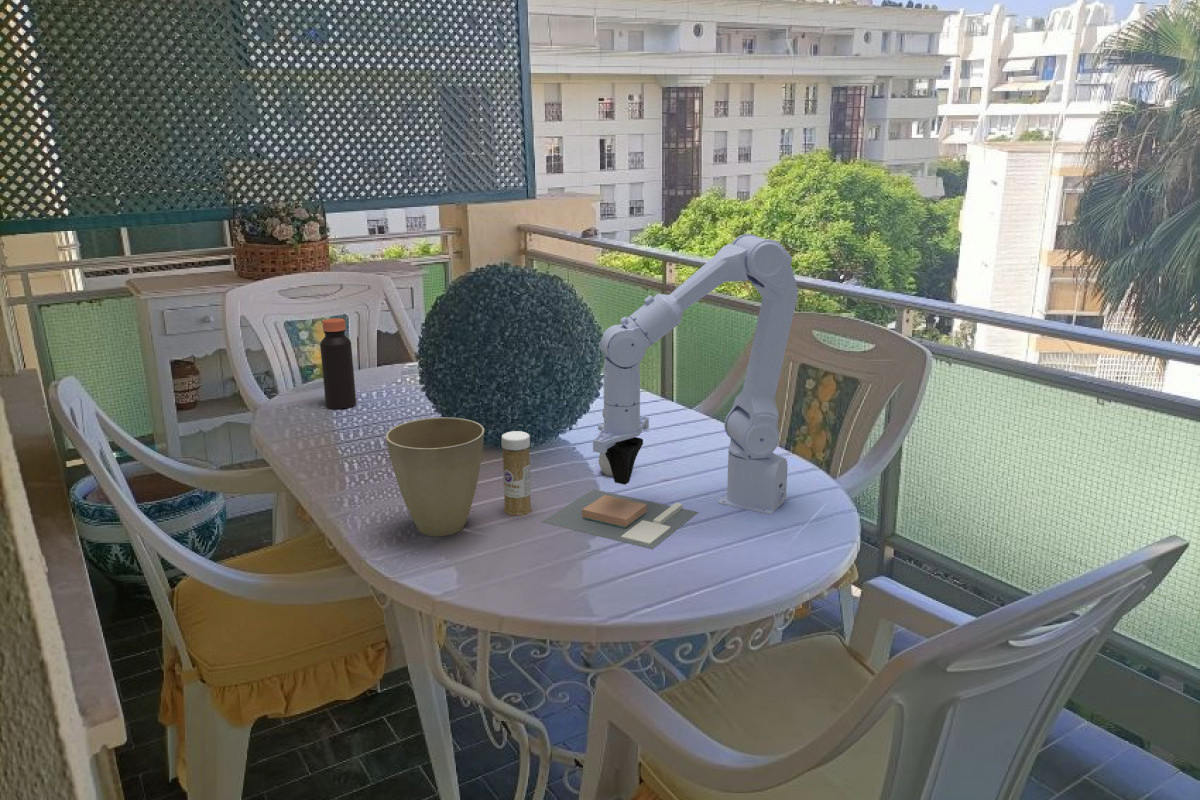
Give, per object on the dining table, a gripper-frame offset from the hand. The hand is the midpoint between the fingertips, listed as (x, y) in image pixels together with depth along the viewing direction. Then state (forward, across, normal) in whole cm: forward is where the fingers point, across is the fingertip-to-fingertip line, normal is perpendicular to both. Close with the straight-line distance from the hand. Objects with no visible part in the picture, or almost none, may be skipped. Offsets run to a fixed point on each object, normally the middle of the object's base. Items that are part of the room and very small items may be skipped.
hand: (621, 482), depth 147 cm
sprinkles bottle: (+6, +8, -15) cm, 18 cm away
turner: (+5, +2, +8) cm, 9 cm away
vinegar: (+6, -22, -87) cm, 90 cm away
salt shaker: (+6, -15, -10) cm, 19 cm away
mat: (+5, +2, +1) cm, 6 cm away
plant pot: (+6, +19, -22) cm, 30 cm away
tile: (+4, -1, 0) cm, 4 cm away
